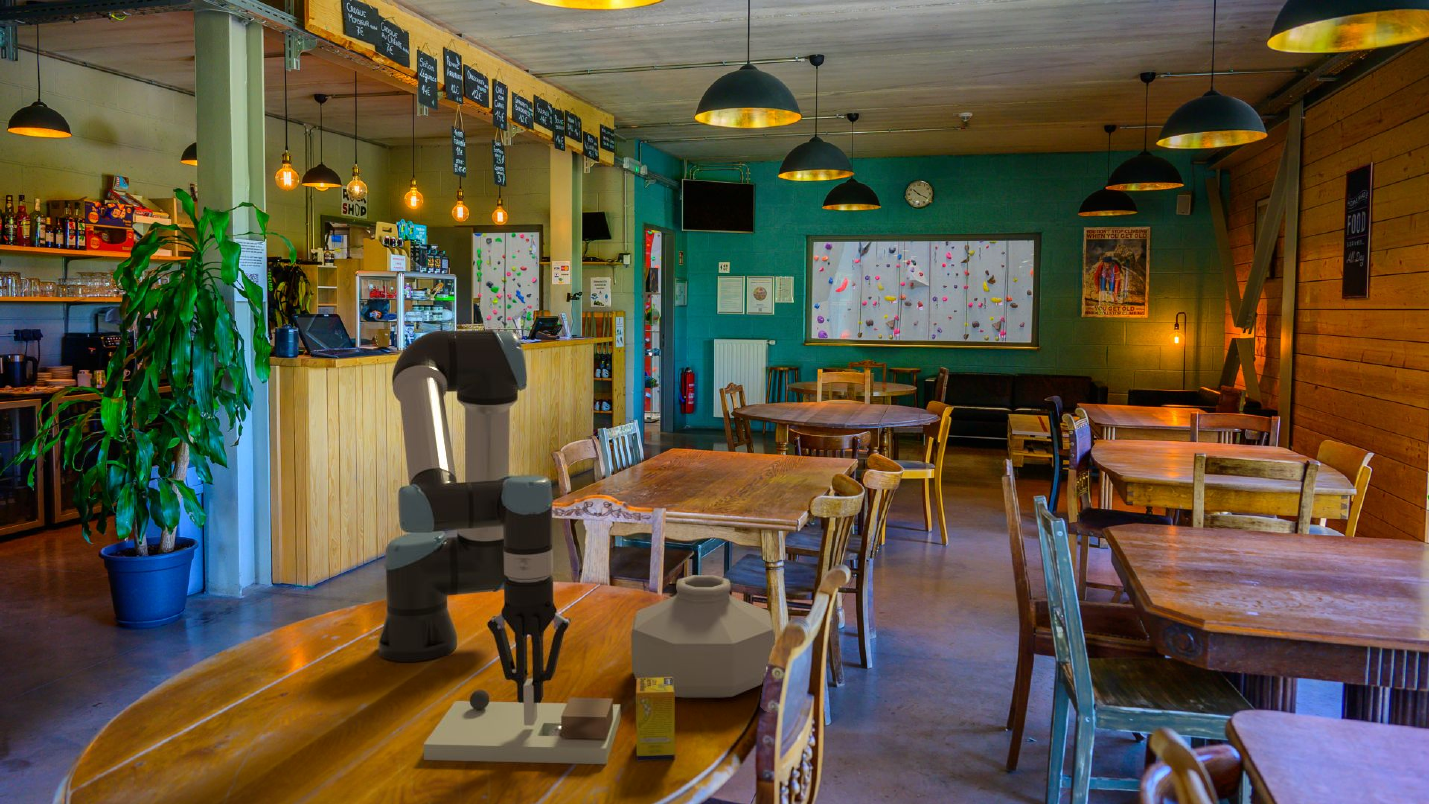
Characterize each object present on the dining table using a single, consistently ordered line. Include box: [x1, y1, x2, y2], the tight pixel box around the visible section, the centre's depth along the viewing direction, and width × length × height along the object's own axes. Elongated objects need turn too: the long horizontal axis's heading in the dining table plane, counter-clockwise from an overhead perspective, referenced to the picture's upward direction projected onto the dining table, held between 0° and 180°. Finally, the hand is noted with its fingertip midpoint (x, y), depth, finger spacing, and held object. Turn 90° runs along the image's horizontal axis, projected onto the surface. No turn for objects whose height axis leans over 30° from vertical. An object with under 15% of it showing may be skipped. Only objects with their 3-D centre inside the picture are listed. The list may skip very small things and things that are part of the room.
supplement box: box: [635, 677, 676, 762], centre depth 150 cm, size 6×6×11 cm
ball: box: [548, 725, 561, 736], centre depth 152 cm, size 3×3×3 cm
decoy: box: [469, 689, 490, 710], centre depth 159 cm, size 3×3×3 cm
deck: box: [423, 700, 621, 765], centre depth 154 cm, size 28×16×2 cm, turn 88°
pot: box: [630, 574, 776, 699], centre depth 179 cm, size 28×28×19 cm
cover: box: [561, 697, 614, 739], centre depth 152 cm, size 7×7×4 cm
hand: (530, 721), depth 152 cm, fingers closed
